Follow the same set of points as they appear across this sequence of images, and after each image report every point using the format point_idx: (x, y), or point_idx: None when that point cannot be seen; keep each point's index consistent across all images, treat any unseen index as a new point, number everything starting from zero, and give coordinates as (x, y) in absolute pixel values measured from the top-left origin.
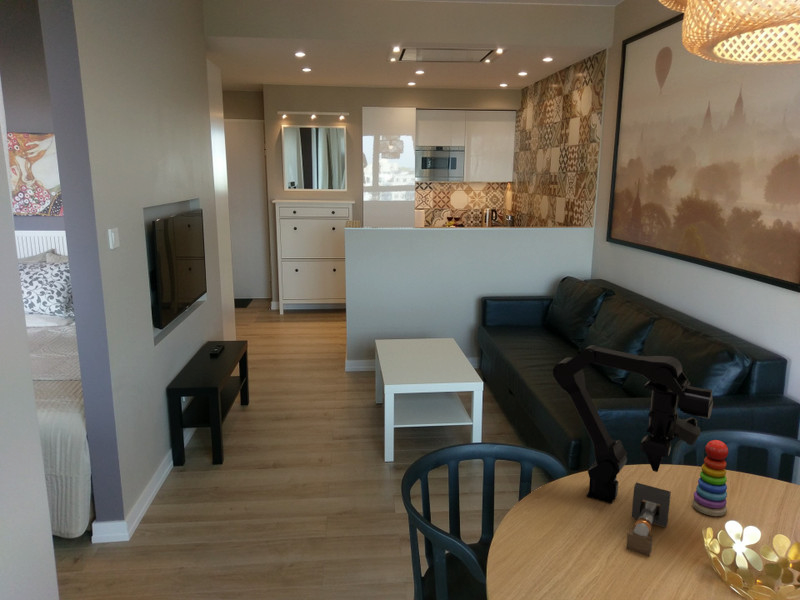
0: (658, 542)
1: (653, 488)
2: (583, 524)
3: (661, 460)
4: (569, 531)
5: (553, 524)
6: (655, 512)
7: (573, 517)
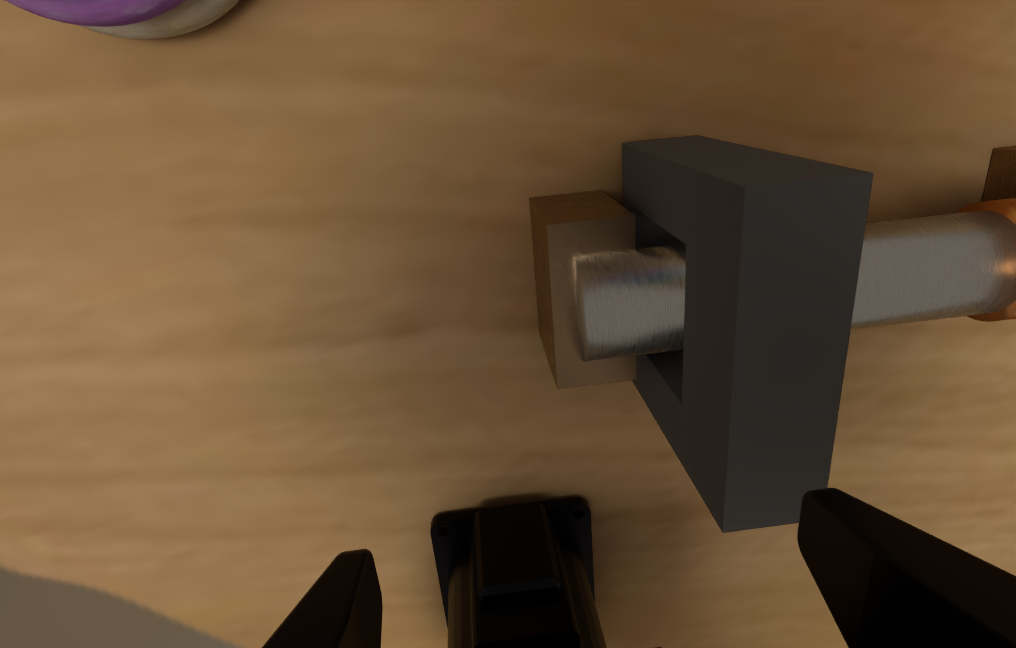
0: (875, 135)
1: (770, 369)
2: None
3: (368, 558)
4: (960, 546)
5: None
6: None
7: None
